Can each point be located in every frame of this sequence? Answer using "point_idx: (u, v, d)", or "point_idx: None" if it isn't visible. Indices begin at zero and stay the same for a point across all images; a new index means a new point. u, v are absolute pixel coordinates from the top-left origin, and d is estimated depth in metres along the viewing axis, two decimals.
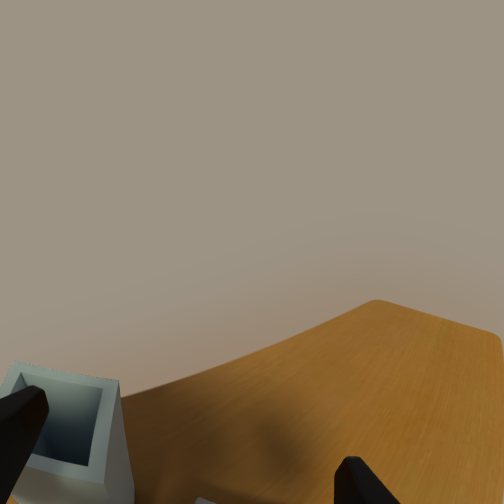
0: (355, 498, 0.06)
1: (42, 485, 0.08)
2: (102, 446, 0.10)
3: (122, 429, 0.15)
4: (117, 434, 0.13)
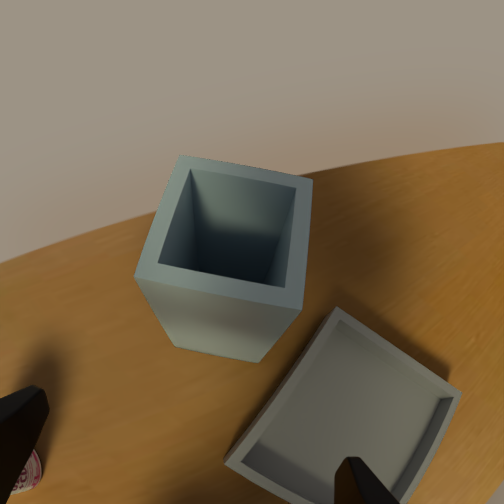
0: (355, 498, 0.06)
1: (213, 308, 0.12)
2: (300, 261, 0.12)
3: None
4: None
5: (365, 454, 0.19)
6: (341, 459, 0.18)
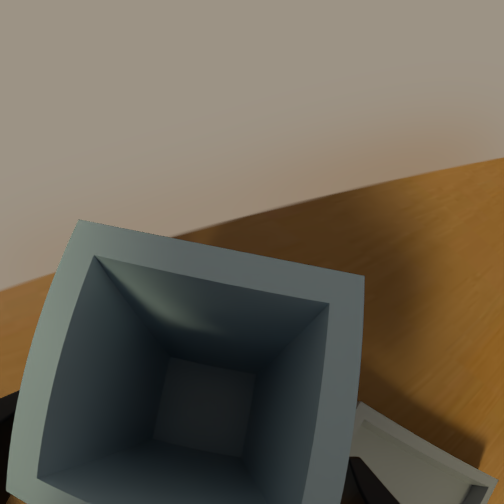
0: (355, 498, 0.06)
1: None
2: (330, 489, 0.04)
3: None
4: None
5: None
6: None
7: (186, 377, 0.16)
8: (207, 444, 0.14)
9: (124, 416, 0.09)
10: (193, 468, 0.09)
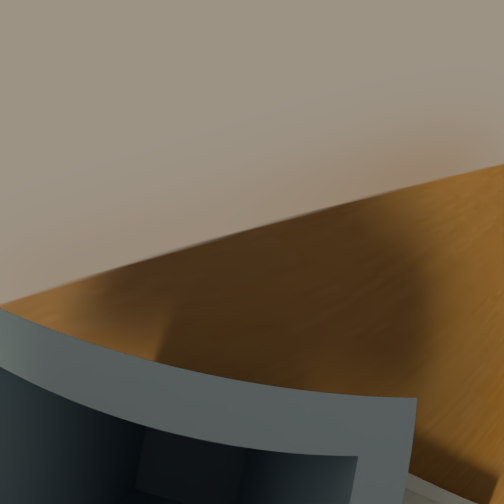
0: None
1: None
2: None
3: None
4: None
5: None
6: None
7: None
8: (196, 497, 0.11)
9: (89, 495, 0.06)
10: None
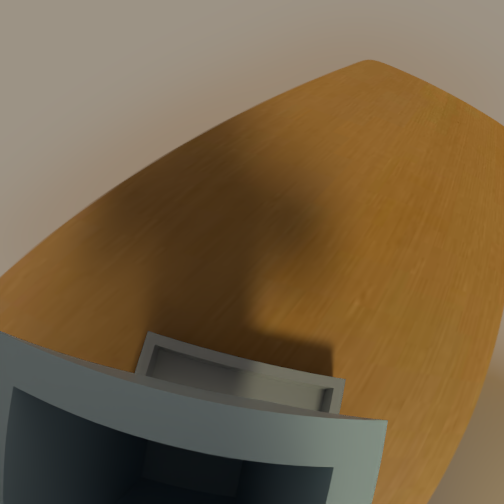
0: None
1: None
2: None
3: None
4: None
5: None
6: None
7: None
8: (199, 484, 0.12)
9: (102, 487, 0.07)
10: None
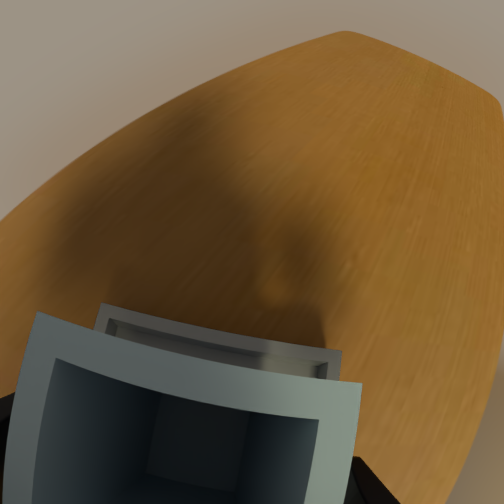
0: (355, 498, 0.06)
1: None
2: None
3: None
4: None
5: None
6: None
7: (178, 414, 0.15)
8: (200, 479, 0.13)
9: (113, 471, 0.08)
10: None
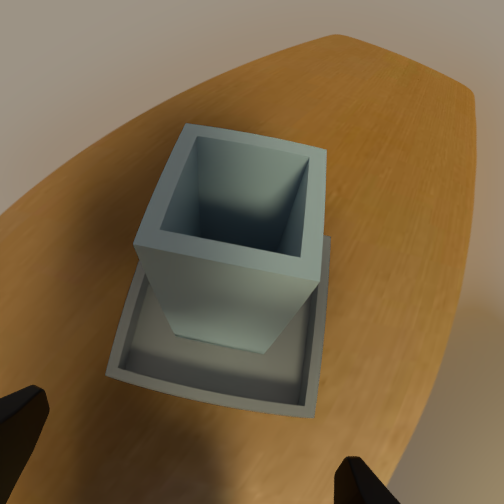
0: (355, 498, 0.06)
1: (220, 283, 0.11)
2: (316, 230, 0.11)
3: None
4: None
5: None
6: None
7: None
8: None
9: None
10: None
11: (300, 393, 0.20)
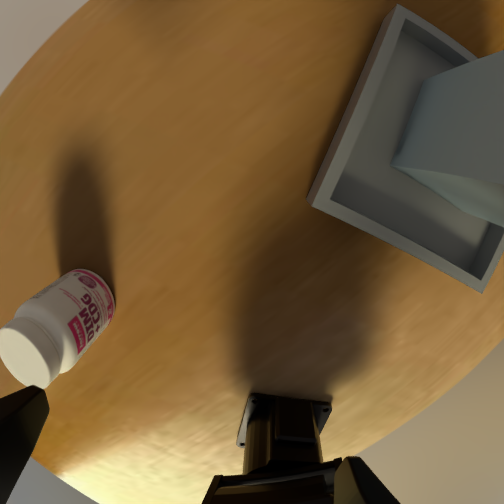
0: (355, 498, 0.06)
1: None
2: None
3: None
4: None
5: None
6: None
7: None
8: None
9: None
10: None
11: (475, 260, 0.18)
